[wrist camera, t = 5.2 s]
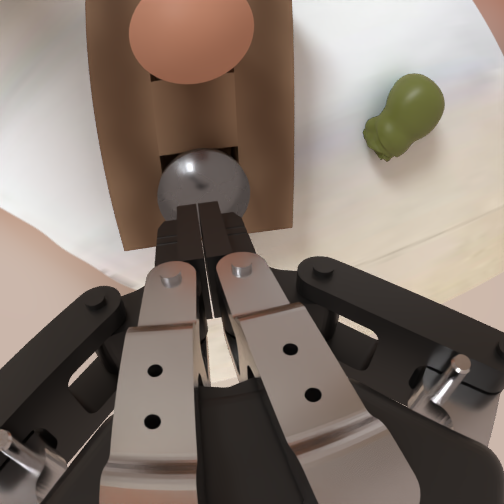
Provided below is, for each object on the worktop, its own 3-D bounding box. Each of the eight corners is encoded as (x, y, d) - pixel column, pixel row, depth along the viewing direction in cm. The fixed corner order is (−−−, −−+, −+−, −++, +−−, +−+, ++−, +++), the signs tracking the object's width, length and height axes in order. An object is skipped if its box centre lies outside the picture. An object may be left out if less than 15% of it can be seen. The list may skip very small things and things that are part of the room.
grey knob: (167, 210, 27) (165, 243, 22) (157, 140, 23) (150, 158, 19) (239, 201, 28) (251, 230, 23) (235, 131, 24) (248, 146, 20)
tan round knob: (146, 88, 18) (133, 93, 14) (140, 4, 15) (127, -16, 10) (239, 77, 19) (256, 79, 15) (235, -5, 15) (252, -27, 11)
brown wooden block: (132, 222, 28) (124, 251, 24) (102, 11, 17) (85, 0, 13) (276, 203, 30) (292, 227, 26) (272, -6, 19) (290, -20, 15)
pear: (462, 108, 22) (403, 180, 27) (432, 91, 26) (380, 156, 31) (432, 69, 19) (367, 151, 25) (401, 58, 23) (345, 129, 29)
